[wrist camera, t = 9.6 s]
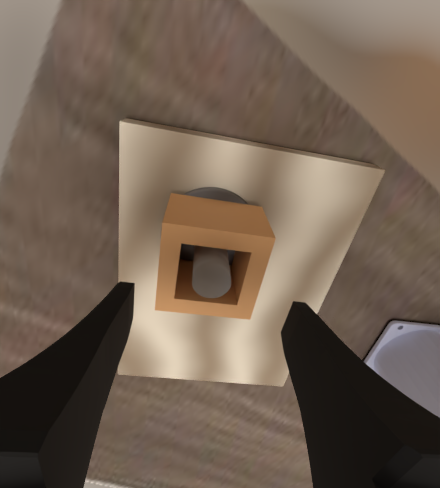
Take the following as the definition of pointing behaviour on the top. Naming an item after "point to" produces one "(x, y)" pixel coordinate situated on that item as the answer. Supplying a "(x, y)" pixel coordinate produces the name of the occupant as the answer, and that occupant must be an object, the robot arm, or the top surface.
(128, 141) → the post board
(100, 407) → the robot arm
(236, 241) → the collar
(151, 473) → the top surface
